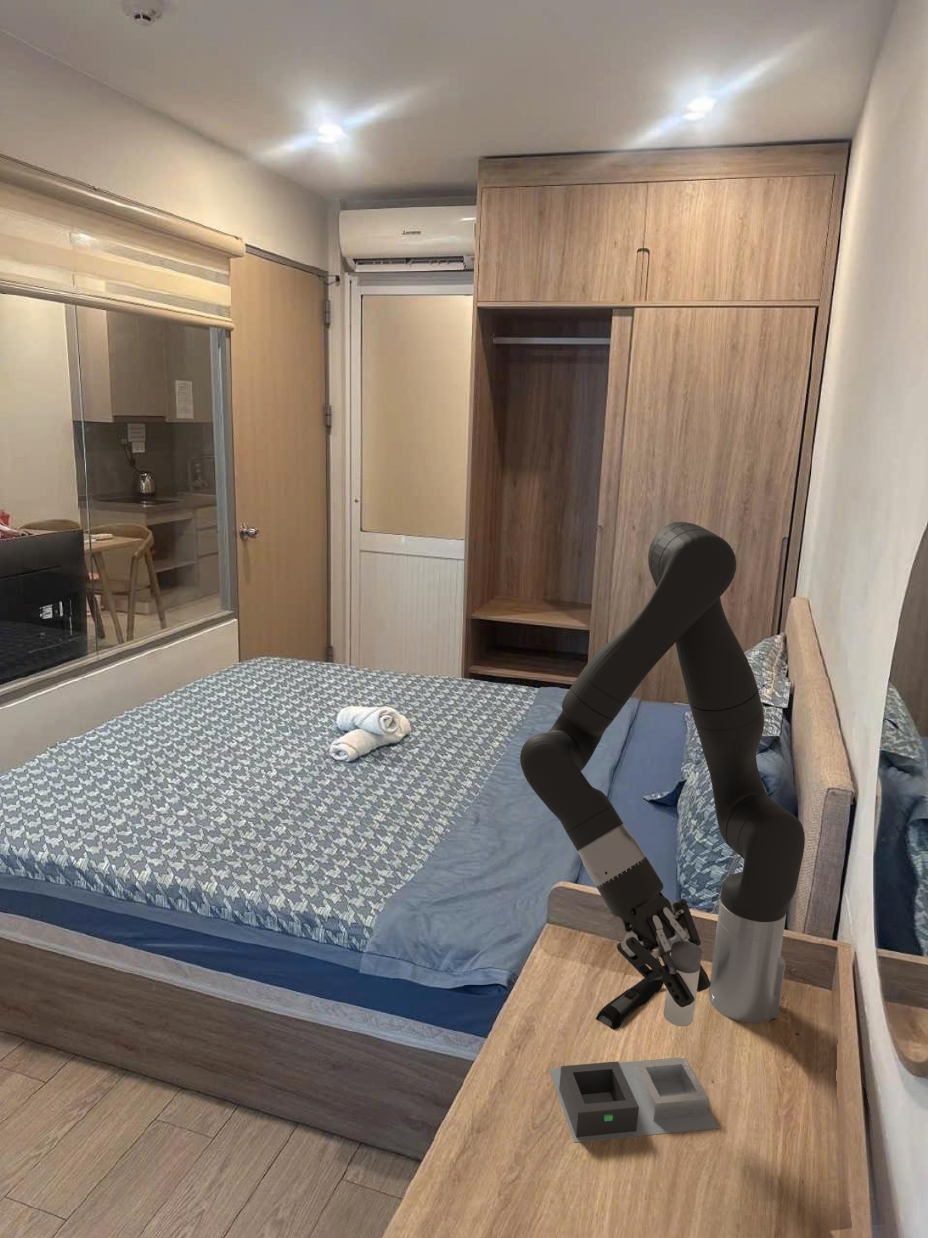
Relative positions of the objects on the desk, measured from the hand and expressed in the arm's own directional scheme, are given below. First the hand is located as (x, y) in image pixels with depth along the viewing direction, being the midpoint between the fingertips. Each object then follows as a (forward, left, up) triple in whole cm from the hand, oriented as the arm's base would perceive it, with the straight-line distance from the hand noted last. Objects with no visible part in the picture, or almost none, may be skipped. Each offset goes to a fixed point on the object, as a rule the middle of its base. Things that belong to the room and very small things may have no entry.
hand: (696, 996), depth 106 cm
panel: (+6, -2, -17) cm, 18 cm away
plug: (+1, -2, -4) cm, 4 cm away
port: (+11, -1, -16) cm, 19 cm away
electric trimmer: (0, -20, -17) cm, 27 cm away
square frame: (+1, -2, -16) cm, 16 cm away
